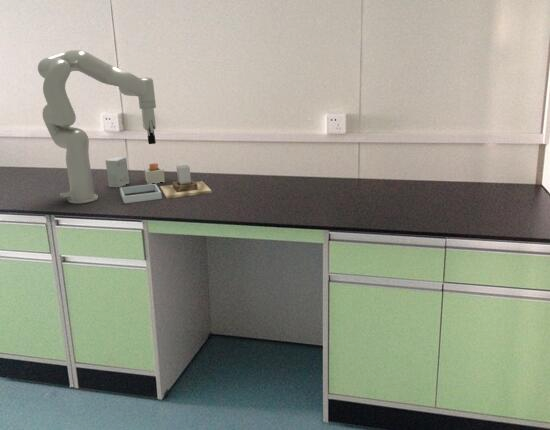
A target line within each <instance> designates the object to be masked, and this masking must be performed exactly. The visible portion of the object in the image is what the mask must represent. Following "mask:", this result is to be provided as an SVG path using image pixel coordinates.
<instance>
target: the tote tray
mask: <svg viewBox="0 0 550 430" xmlns="http://www.w3.org/2000/svg"><path fill="white" fill-rule="evenodd" d="M153 191H154V192H153ZM146 192H147V193H146ZM148 192H149V193H148ZM119 193H120V197H121V199H122V202H123V204H124V203H125V204H132V203H139V202H140V203H141V202H149V201H154V200H155V201H156V200H161V199H162V198H163V197H162V191H161V189H160V187H159V186H158V184H157V183H155V184H148V183H147V184H141V185H132V186H122V187H120V188H119ZM135 193H138V194H135ZM128 194H130V195H128ZM131 194H132V195H131Z"/></svg>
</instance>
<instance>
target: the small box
mask: <svg viewBox="0 0 550 430" xmlns="http://www.w3.org/2000/svg"><path fill="white" fill-rule="evenodd" d="M104 161H105V168H106V173H107V181H108V187H109V188H118V187H119V189H120V188H122V187H125V186H127V185H129V184H130V178H129V170H128V168H129V167H128V161H127V157H126V156H125V157H124V156H115V157H111V158H108V159H105V160H104ZM126 184H127V185H126Z"/></svg>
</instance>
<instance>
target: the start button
mask: <svg viewBox="0 0 550 430" xmlns="http://www.w3.org/2000/svg"><path fill="white" fill-rule="evenodd" d="M158 167H159V164H158V163H155V162H154V163H149V167H148V168H150V171H155V170H158Z"/></svg>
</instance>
